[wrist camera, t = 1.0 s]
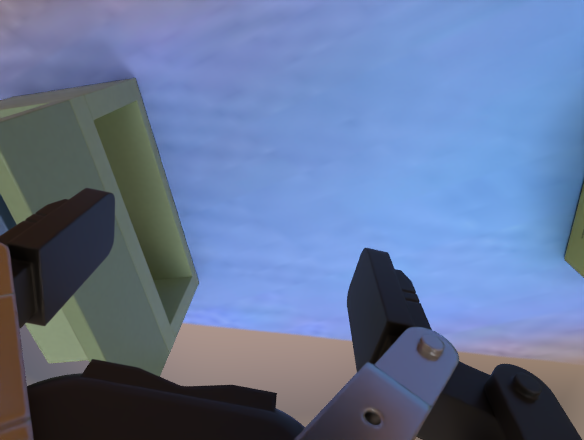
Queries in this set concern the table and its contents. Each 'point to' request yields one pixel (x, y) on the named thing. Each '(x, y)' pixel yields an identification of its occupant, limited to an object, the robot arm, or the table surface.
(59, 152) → the shelf
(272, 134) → the table surface
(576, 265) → the protein box
